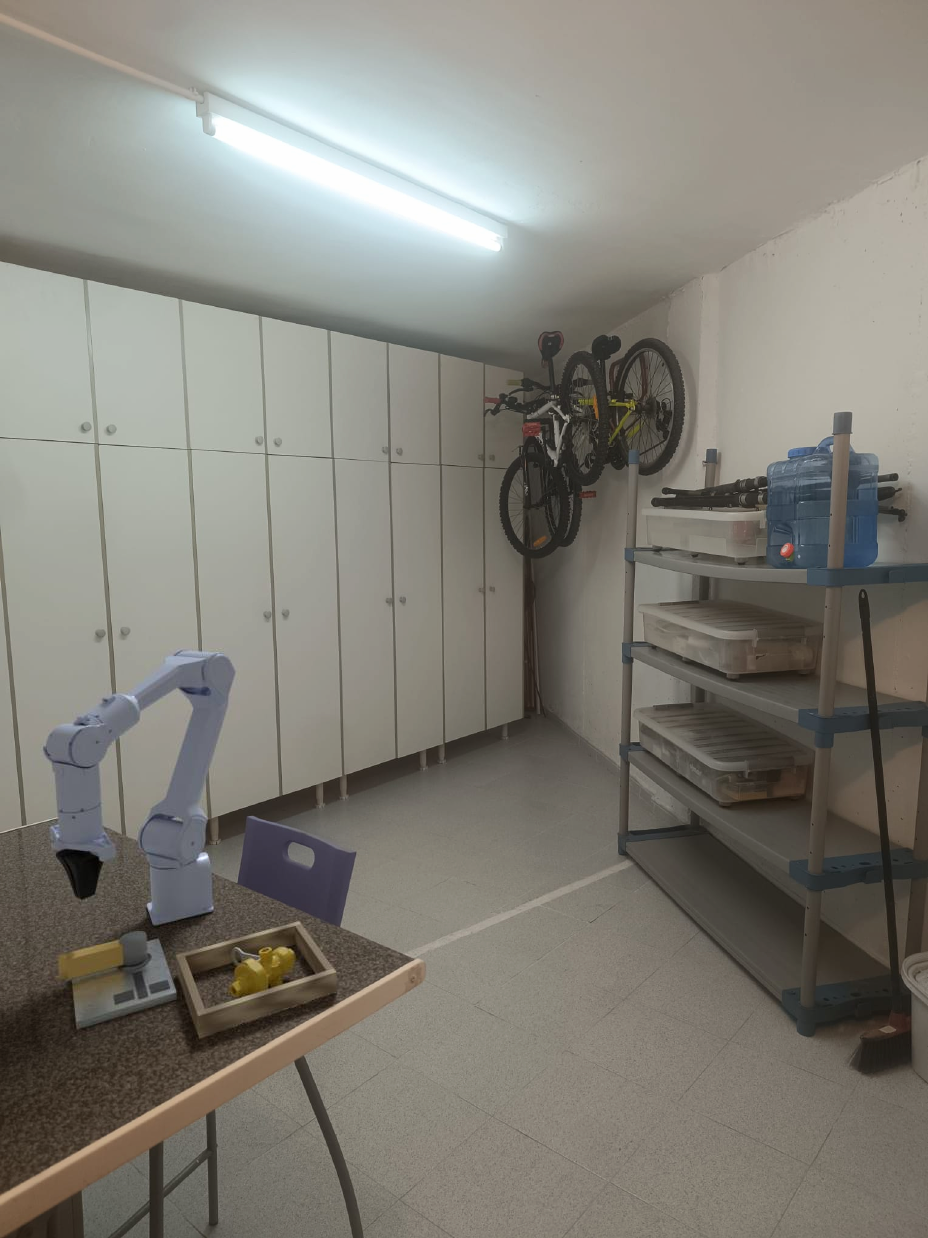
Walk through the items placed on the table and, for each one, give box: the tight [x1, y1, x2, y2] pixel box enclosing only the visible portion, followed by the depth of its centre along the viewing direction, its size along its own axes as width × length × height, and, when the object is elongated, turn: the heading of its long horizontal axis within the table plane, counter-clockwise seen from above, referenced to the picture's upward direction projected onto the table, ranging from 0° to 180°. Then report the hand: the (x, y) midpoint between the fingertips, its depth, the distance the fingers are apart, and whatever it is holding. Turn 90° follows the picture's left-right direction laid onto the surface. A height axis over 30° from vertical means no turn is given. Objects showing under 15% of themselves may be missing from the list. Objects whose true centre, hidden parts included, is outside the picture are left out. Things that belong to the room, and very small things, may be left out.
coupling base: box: [64, 938, 178, 1030], centre depth 102 cm, size 13×16×1 cm
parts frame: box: [175, 921, 338, 1040], centre depth 102 cm, size 18×16×3 cm
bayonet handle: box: [57, 930, 148, 981], centre depth 104 cm, size 11×4×3 cm, turn 121°
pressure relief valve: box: [229, 947, 296, 999], centre depth 102 cm, size 6×12×10 cm
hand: (85, 895), depth 108 cm, fingers closed
